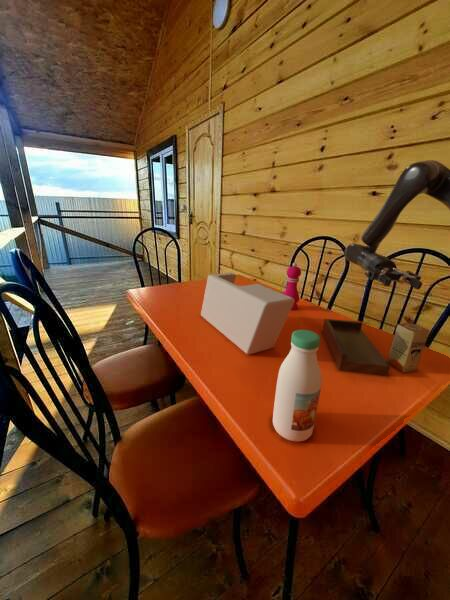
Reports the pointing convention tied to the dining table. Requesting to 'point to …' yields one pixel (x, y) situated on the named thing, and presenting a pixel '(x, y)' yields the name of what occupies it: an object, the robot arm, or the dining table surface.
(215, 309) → the stepped white block
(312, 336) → the milk bottle
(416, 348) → the shoe polish box
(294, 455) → the dining table surface
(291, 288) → the pepper mill
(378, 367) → the dark brown tray
